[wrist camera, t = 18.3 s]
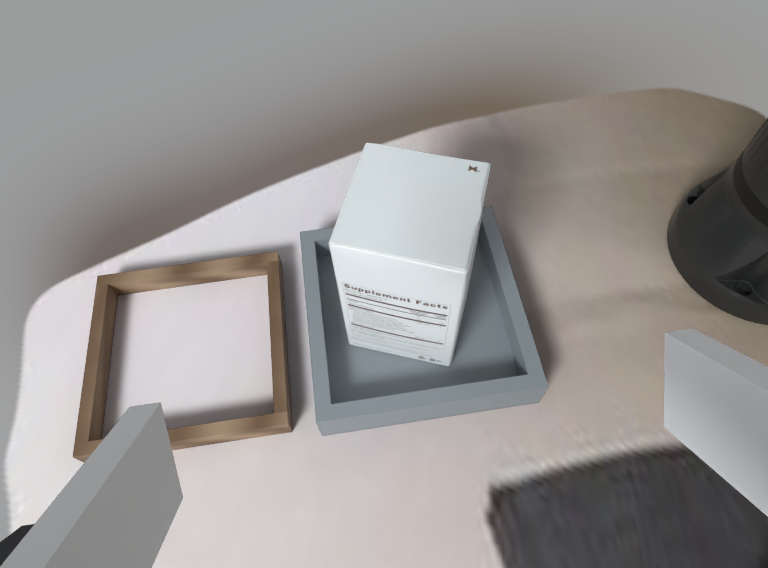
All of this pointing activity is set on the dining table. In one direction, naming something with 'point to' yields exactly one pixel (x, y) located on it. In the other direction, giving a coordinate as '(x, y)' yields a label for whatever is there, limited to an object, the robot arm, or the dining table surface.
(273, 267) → the walnut collar
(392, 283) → the supplement box
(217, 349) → the dining table surface
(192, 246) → the dining table surface
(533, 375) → the grey tray
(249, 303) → the dining table surface
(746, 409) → the robot arm
